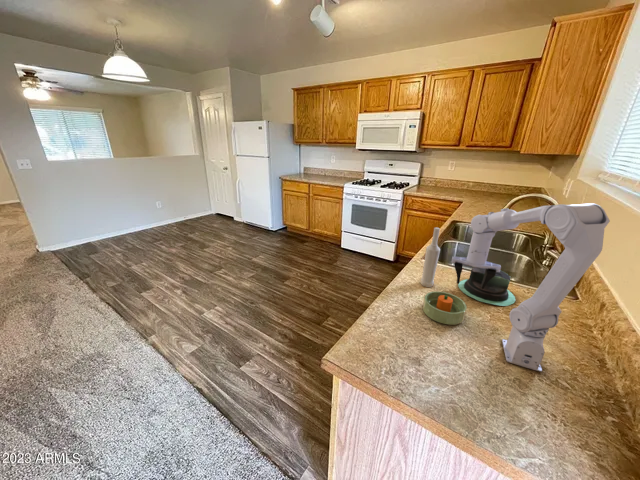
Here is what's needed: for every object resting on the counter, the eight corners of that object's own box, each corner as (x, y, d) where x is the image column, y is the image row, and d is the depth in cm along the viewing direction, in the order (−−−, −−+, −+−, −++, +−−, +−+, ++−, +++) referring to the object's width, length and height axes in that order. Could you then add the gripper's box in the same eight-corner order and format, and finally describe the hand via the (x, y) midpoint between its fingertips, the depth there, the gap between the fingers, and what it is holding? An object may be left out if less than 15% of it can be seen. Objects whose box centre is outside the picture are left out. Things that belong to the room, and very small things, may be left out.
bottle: (420, 286, 110) (430, 229, 101) (420, 280, 115) (429, 225, 106) (433, 288, 109) (445, 231, 100) (432, 282, 113) (443, 227, 104)
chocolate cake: (507, 281, 113) (528, 309, 95) (461, 293, 120) (472, 321, 103) (496, 251, 110) (516, 275, 92) (450, 265, 117) (459, 290, 99)
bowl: (463, 330, 85) (467, 318, 83) (420, 318, 90) (422, 306, 88) (463, 308, 96) (466, 297, 94) (424, 299, 101) (426, 288, 99)
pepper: (449, 317, 90) (453, 301, 88) (435, 313, 92) (438, 297, 89) (449, 310, 94) (453, 294, 91) (436, 306, 96) (439, 290, 93)
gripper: (502, 249, 89) (492, 284, 94) (455, 241, 95) (447, 275, 100) (505, 257, 83) (494, 294, 88) (455, 248, 89) (447, 283, 94)
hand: (469, 284), depth 93 cm, fingers open, 7 cm apart
